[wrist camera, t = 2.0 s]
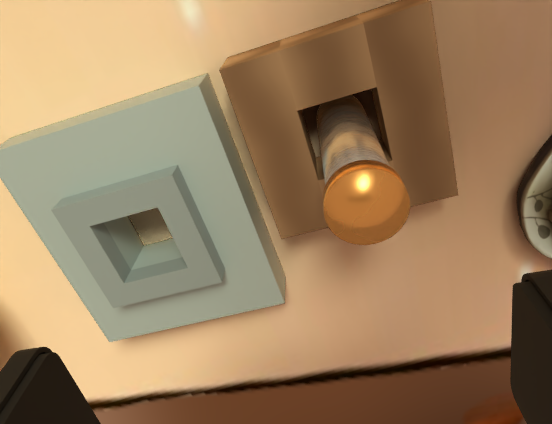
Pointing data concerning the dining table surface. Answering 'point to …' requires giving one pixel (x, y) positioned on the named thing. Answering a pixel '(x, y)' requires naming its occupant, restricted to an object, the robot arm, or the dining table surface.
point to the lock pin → (358, 176)
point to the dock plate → (139, 152)
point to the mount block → (336, 84)
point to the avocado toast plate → (537, 201)
